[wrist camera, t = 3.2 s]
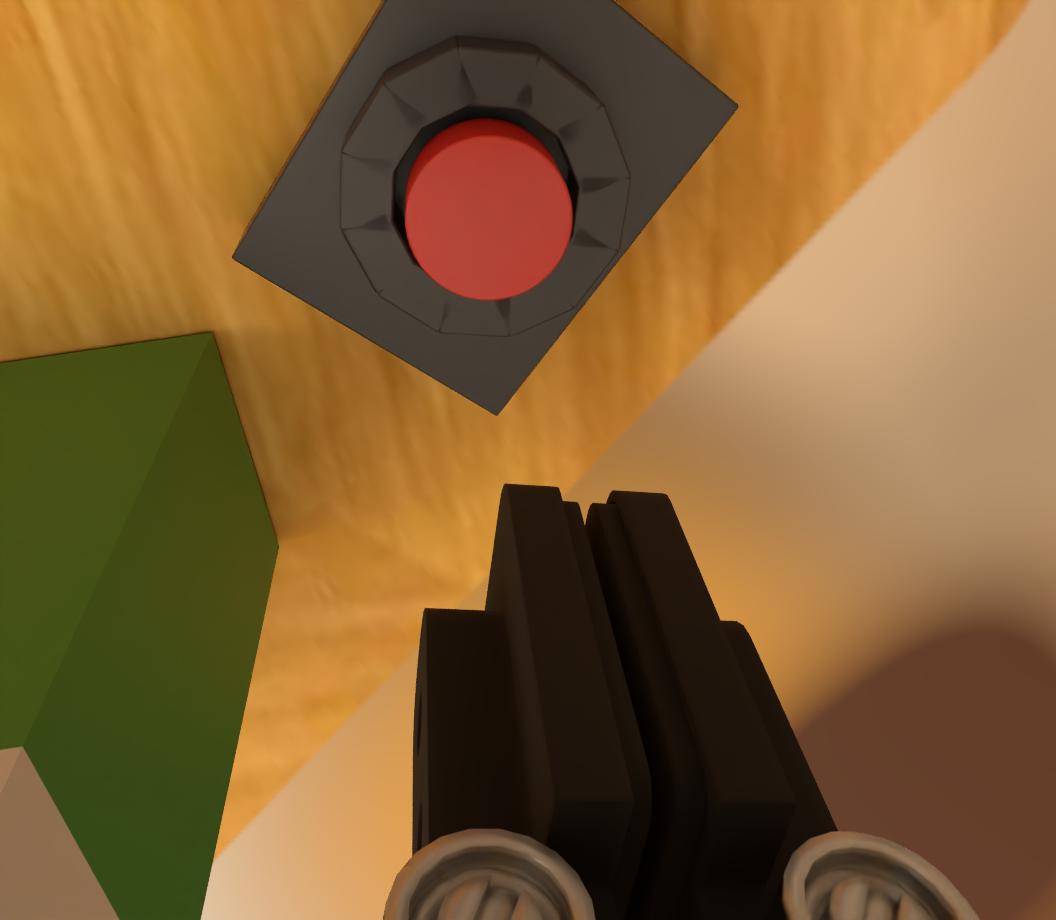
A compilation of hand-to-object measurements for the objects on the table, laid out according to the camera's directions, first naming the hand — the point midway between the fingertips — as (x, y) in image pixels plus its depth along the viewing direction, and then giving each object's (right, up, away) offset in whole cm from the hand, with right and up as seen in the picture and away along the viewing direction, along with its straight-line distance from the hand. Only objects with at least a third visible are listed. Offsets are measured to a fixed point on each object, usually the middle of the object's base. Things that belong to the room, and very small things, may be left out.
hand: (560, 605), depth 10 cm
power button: (-1, +8, +12) cm, 14 cm away
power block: (-2, +9, +15) cm, 18 cm away
